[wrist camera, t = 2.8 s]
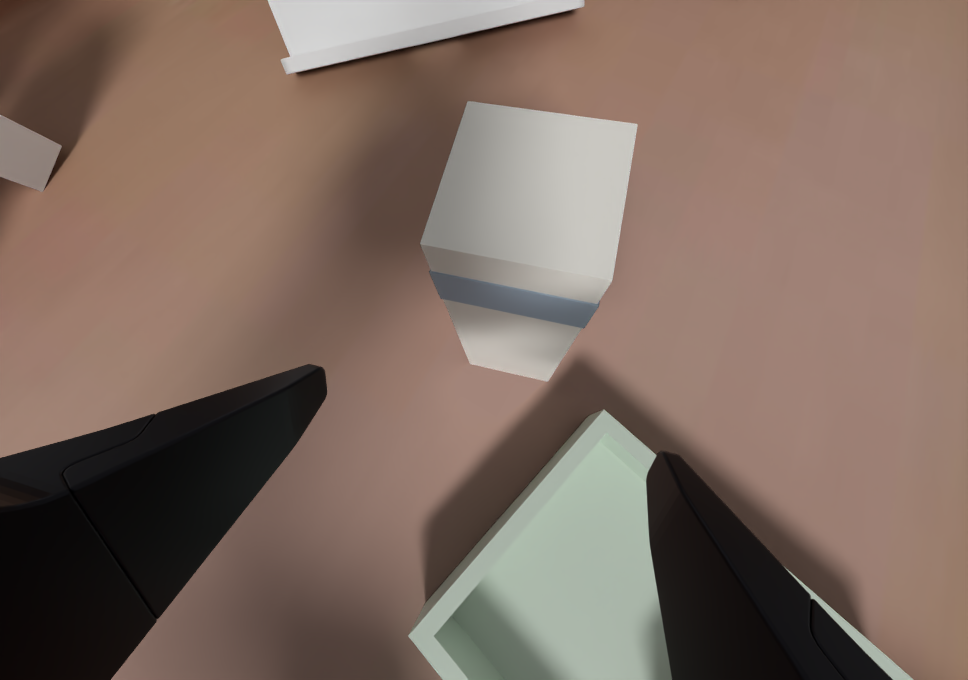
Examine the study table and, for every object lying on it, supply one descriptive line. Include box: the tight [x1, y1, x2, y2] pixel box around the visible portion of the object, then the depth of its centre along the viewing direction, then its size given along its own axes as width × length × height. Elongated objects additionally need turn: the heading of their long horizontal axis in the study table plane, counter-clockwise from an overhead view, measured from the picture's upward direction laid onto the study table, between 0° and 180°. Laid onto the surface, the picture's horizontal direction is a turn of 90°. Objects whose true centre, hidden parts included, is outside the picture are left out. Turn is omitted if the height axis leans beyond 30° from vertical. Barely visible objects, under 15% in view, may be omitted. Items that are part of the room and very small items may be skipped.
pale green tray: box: [408, 410, 913, 680], centre depth 16 cm, size 14×18×4 cm
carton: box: [420, 101, 638, 382], centre depth 16 cm, size 5×5×14 cm
